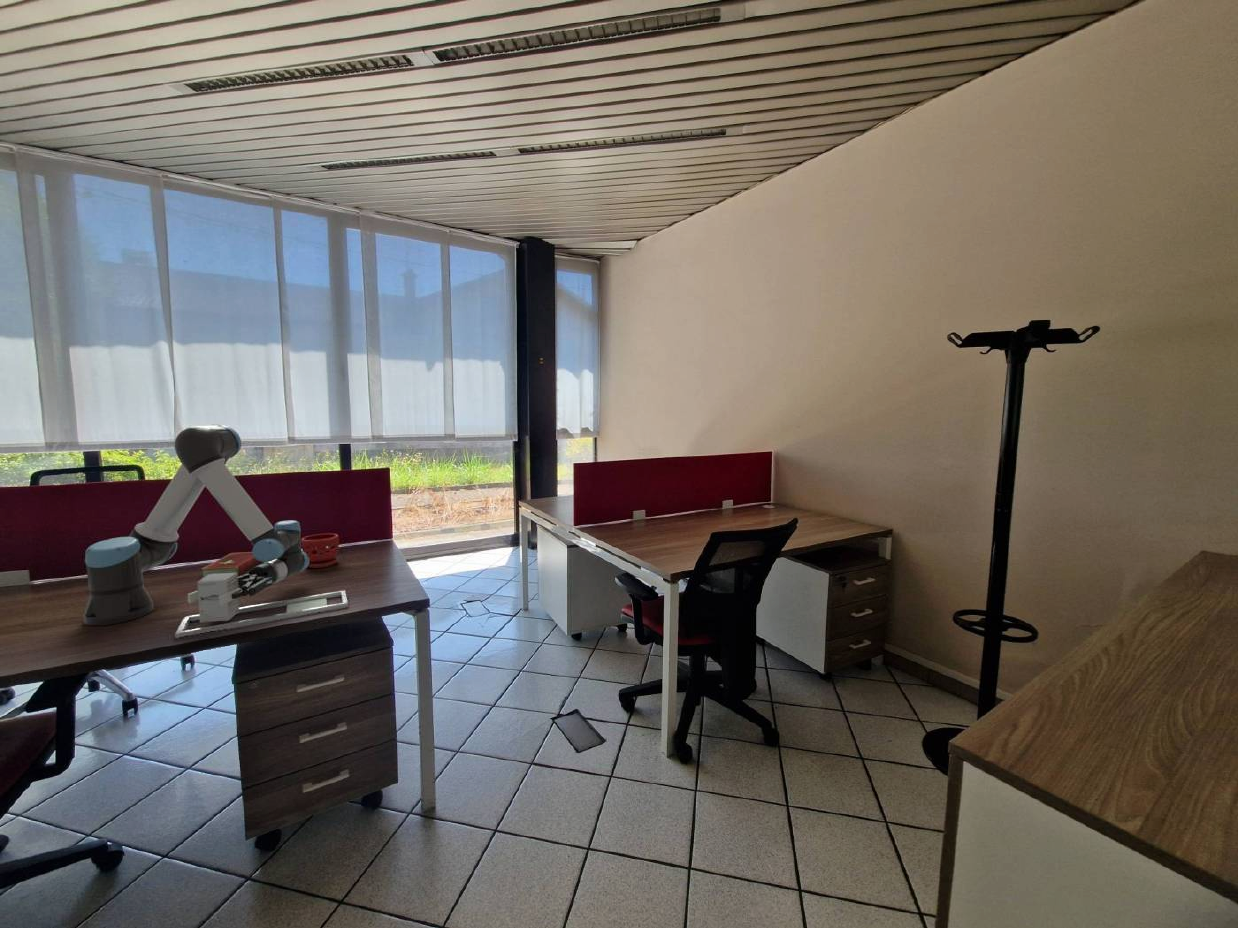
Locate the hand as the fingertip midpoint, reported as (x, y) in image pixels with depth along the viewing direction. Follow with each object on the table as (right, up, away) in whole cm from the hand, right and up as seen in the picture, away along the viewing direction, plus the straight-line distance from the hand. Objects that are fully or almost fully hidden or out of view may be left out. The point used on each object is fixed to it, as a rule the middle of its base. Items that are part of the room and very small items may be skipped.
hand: (204, 599), depth 142 cm
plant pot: (-2, -2, +60) cm, 60 cm away
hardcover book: (-34, -3, +55) cm, 64 cm away
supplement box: (0, -7, +5) cm, 9 cm away
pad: (+19, -7, +17) cm, 26 cm away
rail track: (+10, -8, +12) cm, 18 cm away
